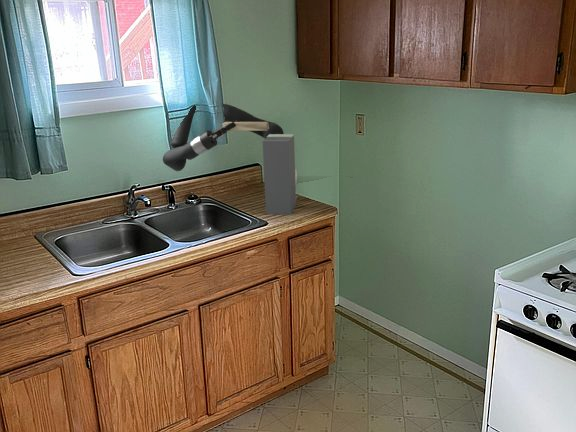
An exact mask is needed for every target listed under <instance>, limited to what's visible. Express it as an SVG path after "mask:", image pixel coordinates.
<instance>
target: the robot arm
mask: <svg viewBox="0 0 576 432" xmlns="http://www.w3.org/2000/svg"><path fill="white" fill-rule="evenodd" d="M222 104H223V107H224V117H225V122H232V123H230V124H228V125H227V126H224V127H223V126H221V127H219V128H217V129H215V130H213V132H212V131H211V130H208V129H207V130H205V131H204V132H202V133H201V134H199V135H197V136H196V137H194V138H193V139H192V140H190V141H189V137H190V133H191V129H192V123H193V120H194V116H195V114H196V113H195V110H196V106H195V105H194V106H193V107H192V108H191V109H190V111H189V113H188V115H187V116H186V117H185V118H184V119H183V121H182V122H181V123H180V126H179V127H178V128H177V130H176V132H175V134H174V137H173V139H172V138H171V140H172V141H171V140H170V146H172V147H173V148H174V149H173V148H172V147H171V149H169V150H168V151H166V152H165V153H164V154H163V156H162V161H163V163H164V165H165V166H167V167H168V168H170V169H171V170H173V171H175V172H181V171H182V170H184V168H185V166H186V164H187V160H188V161H191V160H194V159H195V158H197V157H198V156H200V155H202V154H204V153H206V152H208V151H210V150H211V149H213V148H214V147H216V146H217V145H218V140H219V139H221V138H222V137H223V136H225V135H226V134H228V133H229V130H230V129H232V128H234V127H235V126H236V125H235V123H234V122H268V127H269V129H268V130H267V131H249V132H251V133H253V134H256V135H257V136H259V137H262V139H263V138H264V139H265V138H266V137H267V136H268V135H269V134H285V133H284V130H283V128H282V127H281V126H280V125H279V124H278V123H276V122H272V121H268V120H264V119H261V118H258V117H256V116H254V115H252V114H251V113H249V112H248V111H245V110H243V109H241V108H239V107H236V106H235V105H234V106H233V105H231V104H227V103H222ZM188 141H189V142H188Z"/></svg>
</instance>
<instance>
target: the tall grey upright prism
mask: <svg viewBox="0 0 576 432" xmlns="http://www.w3.org/2000/svg"><path fill="white" fill-rule="evenodd" d="M295 154H296V153H295V134H293V133H290V134H289V133H284V134H269V135H268V136H267V137H266V138H264V139H263V140H262V157H263V175H264V176H263V177H264V178H263V179H264V180H263V181H264V197H265V198H264V200H265V215H292V213H293V212H294V211H295V208H296V206H297V200H296V197H297V194H296V193H297V186H296V185H295V168H296V158H295Z"/></svg>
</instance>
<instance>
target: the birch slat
mask: <svg viewBox="0 0 576 432" xmlns="http://www.w3.org/2000/svg"><path fill="white" fill-rule="evenodd" d="M230 123H232V122H224V123H221V124H222V127H224V126H227V125H228V124H230ZM234 123H235V125H236V126H235V127H234V128H232V129H230V130H229V131H232V132H233V131H245V132H246V131H247V132H250V131H267V130H268V129H269V127H268V122H234ZM229 131H228V132H229Z"/></svg>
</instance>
